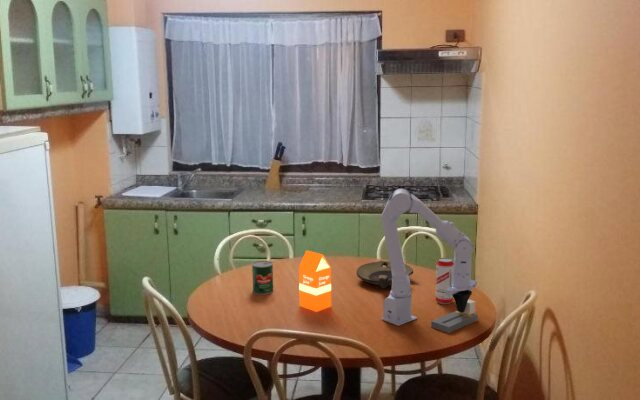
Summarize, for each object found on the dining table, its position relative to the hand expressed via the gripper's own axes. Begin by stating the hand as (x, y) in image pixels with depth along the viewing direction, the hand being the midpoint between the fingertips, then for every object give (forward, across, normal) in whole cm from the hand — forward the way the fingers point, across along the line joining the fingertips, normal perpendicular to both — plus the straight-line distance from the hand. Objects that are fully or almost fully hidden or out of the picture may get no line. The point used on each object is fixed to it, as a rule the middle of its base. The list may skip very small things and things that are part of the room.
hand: (460, 311), depth 209 cm
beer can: (+4, +11, +15) cm, 19 cm away
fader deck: (+3, -3, 0) cm, 5 cm away
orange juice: (+4, -26, +44) cm, 51 cm away
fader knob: (+1, +3, 0) cm, 3 cm away
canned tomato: (+4, -30, +70) cm, 76 cm away
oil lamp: (+4, +10, +45) cm, 46 cm away
